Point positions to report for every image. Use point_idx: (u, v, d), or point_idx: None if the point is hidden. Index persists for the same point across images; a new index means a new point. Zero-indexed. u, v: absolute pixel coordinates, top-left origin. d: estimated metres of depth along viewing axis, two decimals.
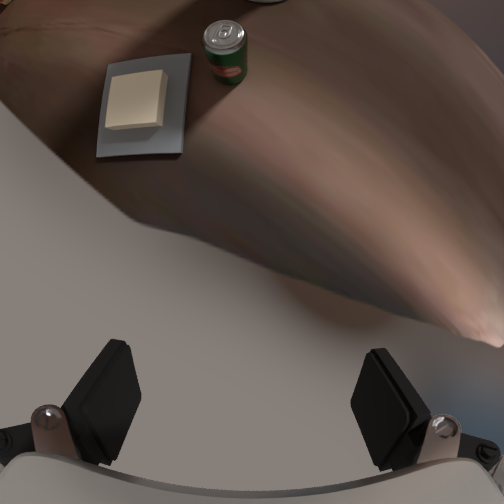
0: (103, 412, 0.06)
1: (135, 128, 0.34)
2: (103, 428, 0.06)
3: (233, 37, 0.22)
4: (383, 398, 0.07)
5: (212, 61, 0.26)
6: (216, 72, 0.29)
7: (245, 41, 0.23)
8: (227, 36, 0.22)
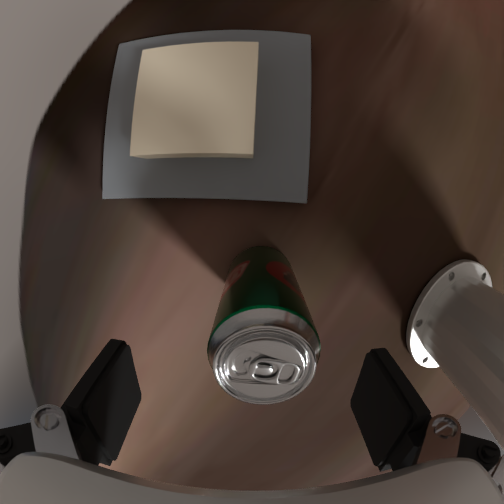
0: (103, 412, 0.06)
1: None
2: (103, 428, 0.06)
3: (250, 389, 0.11)
4: (383, 398, 0.07)
5: (223, 299, 0.14)
6: (229, 277, 0.17)
7: None
8: (253, 377, 0.11)
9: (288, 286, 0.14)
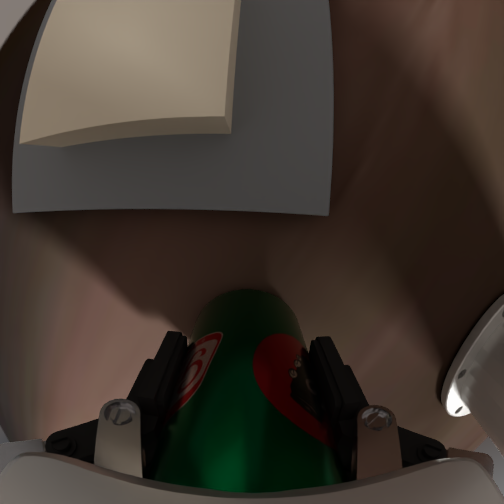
0: None
1: None
2: None
3: None
4: (320, 384, 0.08)
5: (161, 443, 0.05)
6: (184, 364, 0.08)
7: None
8: None
9: (303, 429, 0.05)
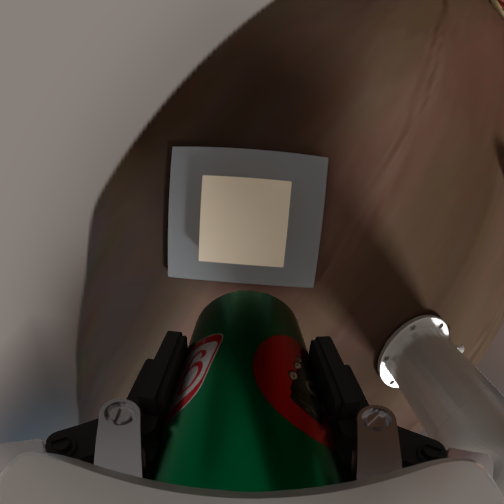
0: None
1: None
2: None
3: None
4: (320, 384, 0.08)
5: (161, 445, 0.05)
6: (184, 365, 0.08)
7: None
8: None
9: (303, 430, 0.05)
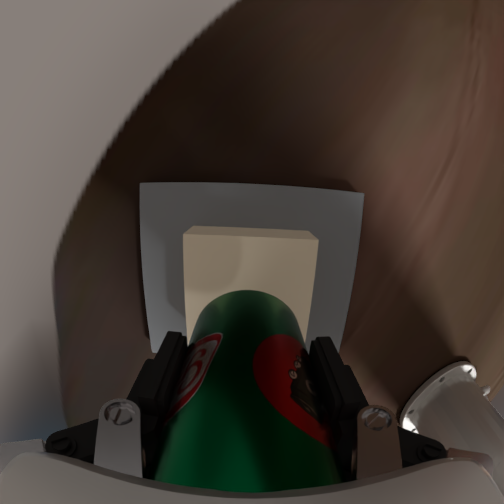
0: None
1: None
2: None
3: None
4: (320, 384, 0.08)
5: (160, 445, 0.05)
6: (184, 364, 0.08)
7: None
8: None
9: (303, 430, 0.05)
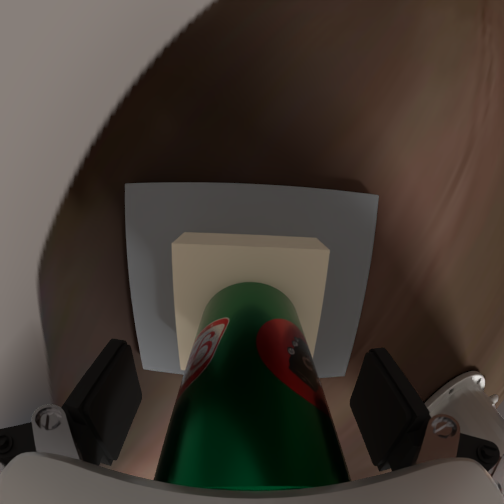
0: (104, 412, 0.06)
1: None
2: (104, 428, 0.06)
3: None
4: (382, 398, 0.07)
5: (176, 412, 0.06)
6: (195, 346, 0.10)
7: None
8: None
9: (300, 394, 0.06)
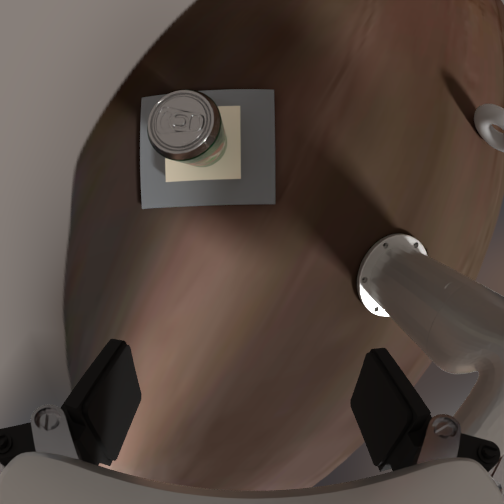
0: (103, 412, 0.06)
1: None
2: (103, 428, 0.06)
3: (171, 137, 0.15)
4: (383, 398, 0.07)
5: None
6: None
7: (174, 159, 0.17)
8: (173, 129, 0.15)
9: None
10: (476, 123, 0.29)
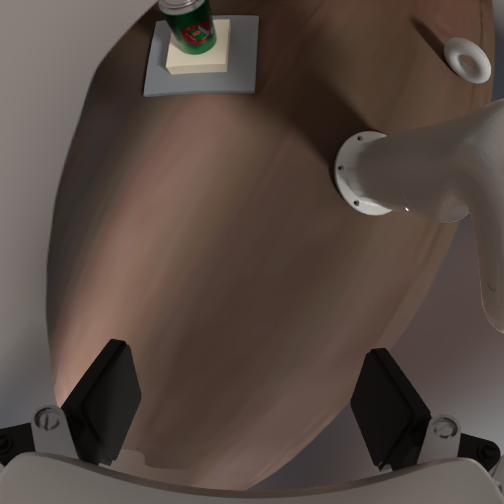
0: (103, 412, 0.06)
1: None
2: (103, 428, 0.06)
3: (173, 1, 0.16)
4: (383, 398, 0.07)
5: None
6: None
7: (173, 14, 0.18)
8: None
9: None
10: (446, 57, 0.29)
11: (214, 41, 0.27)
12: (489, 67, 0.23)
